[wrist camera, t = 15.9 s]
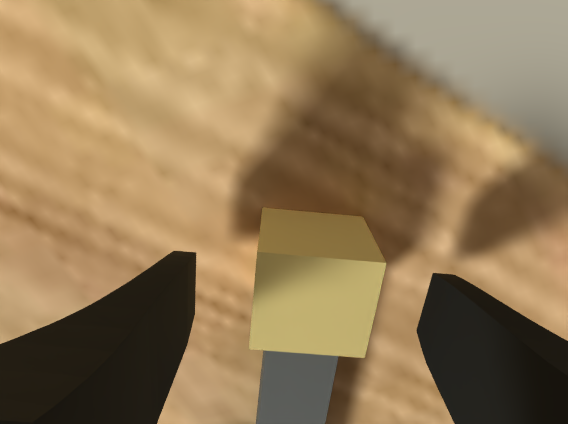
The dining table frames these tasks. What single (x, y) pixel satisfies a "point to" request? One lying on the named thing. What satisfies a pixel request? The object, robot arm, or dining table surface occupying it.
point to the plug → (310, 308)
